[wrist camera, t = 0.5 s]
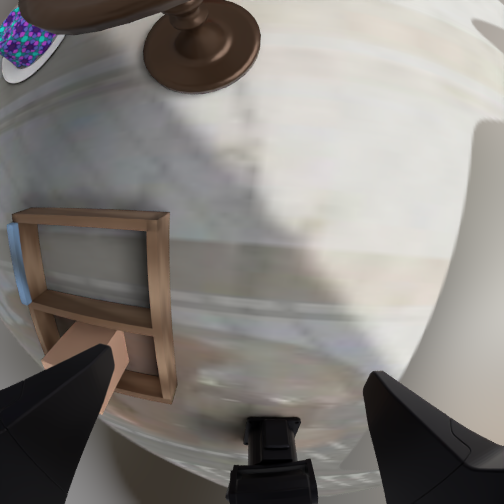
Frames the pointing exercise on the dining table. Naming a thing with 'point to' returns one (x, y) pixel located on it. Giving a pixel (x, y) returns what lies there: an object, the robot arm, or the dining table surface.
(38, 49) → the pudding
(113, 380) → the plug block
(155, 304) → the frame
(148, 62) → the candlestick
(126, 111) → the dining table surface
